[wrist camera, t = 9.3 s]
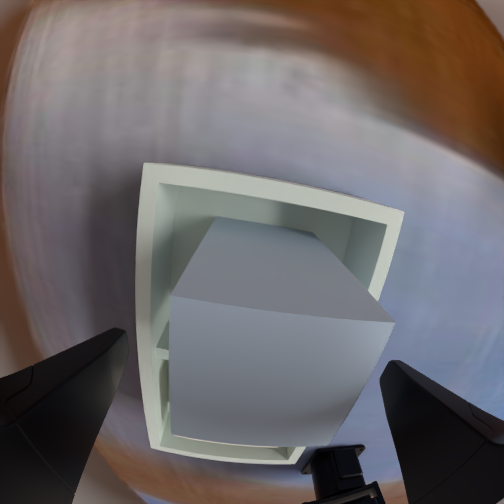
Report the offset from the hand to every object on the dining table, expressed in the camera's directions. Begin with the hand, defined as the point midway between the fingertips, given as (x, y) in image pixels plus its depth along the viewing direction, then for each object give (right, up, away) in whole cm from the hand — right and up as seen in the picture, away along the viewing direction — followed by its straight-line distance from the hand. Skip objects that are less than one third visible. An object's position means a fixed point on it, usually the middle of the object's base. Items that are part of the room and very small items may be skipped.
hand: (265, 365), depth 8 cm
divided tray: (-1, -2, +11) cm, 11 cm away
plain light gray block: (0, +2, +8) cm, 9 cm away
